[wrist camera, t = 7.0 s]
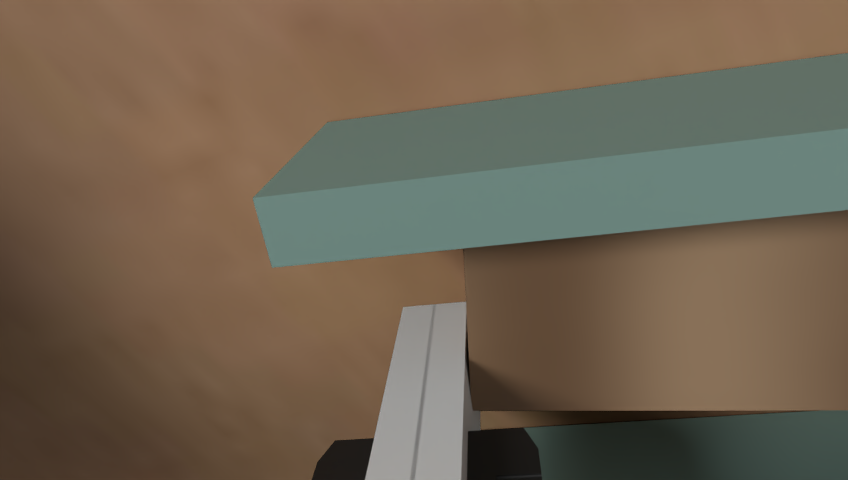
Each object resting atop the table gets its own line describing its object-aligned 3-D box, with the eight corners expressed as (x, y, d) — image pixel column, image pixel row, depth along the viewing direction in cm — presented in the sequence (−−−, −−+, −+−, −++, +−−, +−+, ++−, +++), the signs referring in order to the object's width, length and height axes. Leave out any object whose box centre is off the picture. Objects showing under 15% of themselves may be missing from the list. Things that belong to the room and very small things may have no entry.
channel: (401, 466, 18) (375, 636, 13) (327, 122, 14) (253, 198, 9) (1090, 431, 15) (1344, 624, 11) (1249, -1, 11) (1765, 20, 7)
